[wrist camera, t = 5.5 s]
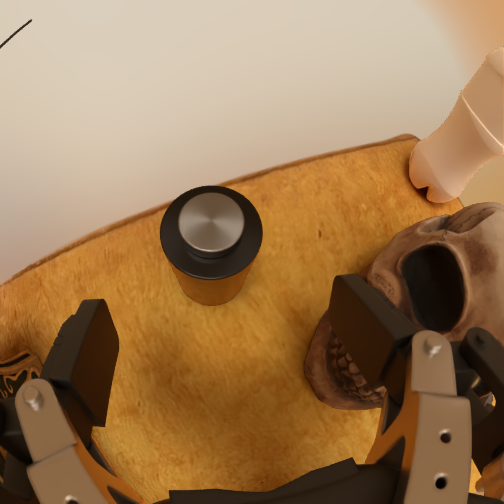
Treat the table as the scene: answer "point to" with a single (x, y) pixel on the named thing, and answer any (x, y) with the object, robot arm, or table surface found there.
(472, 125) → the water bottle
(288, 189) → the table surface
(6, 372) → the decorative box
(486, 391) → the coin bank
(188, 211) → the pepper grinder
